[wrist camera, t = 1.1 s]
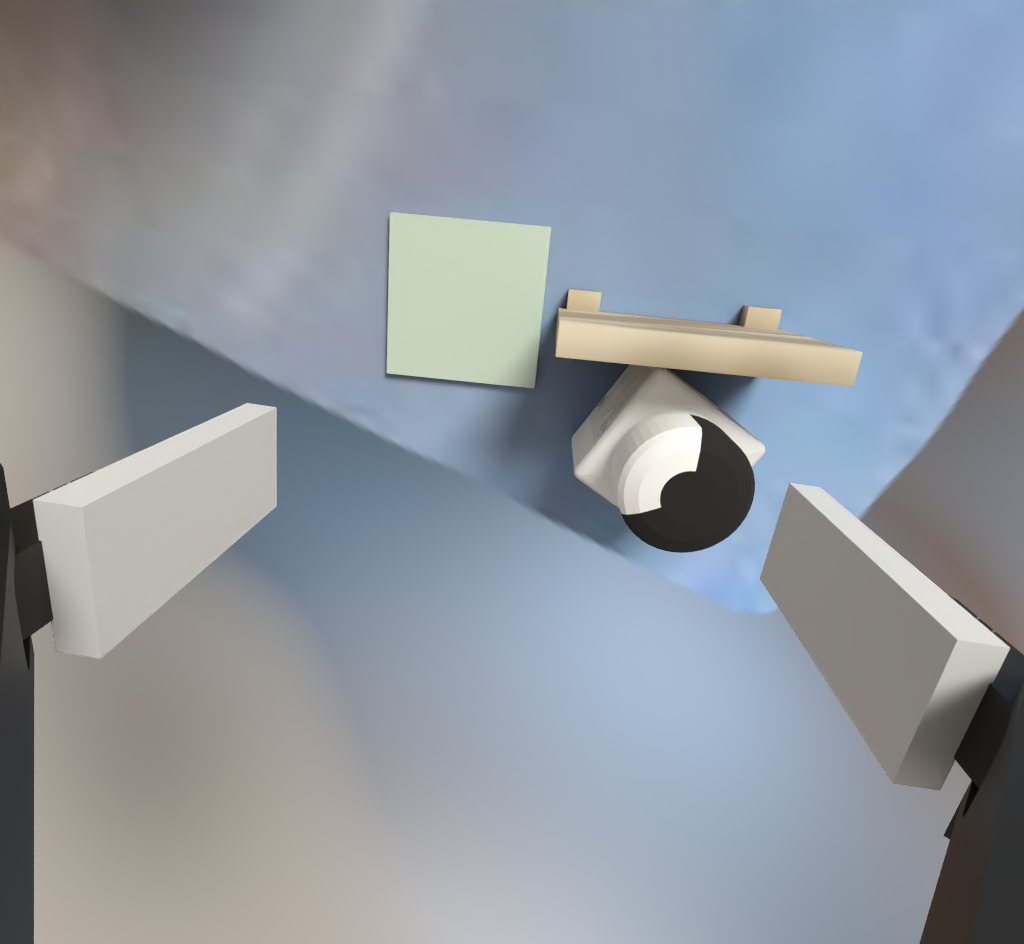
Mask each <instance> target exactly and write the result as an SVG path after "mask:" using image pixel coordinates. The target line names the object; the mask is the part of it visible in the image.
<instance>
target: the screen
mask: <svg viewBox="0 0 1024 944" xmlns="http://www.w3.org/2000/svg"><path fill="white" fill-rule="evenodd" d="M600 300H601V292H596V291H585V290H575V289H569V290H568V299H567V307H566V308H559V309H558V318H557V327H556V357H562V358H572V359H582V360H592V361H602V362H612V363H622V364H632V365H642V366H652V367H662V368H672V369H681V370H691V371H701V372H711V373H721V374H731V375H741V376H751V377H761V378H771V379H781V380H791V381H801V382H811V383H821V384H831V385H841V386H850V387H853V385H854V382H855V378H856V375H857V371H858V368H859V364H860V360H861V357H862V353H863V352H859V351H856V350H852V349H849V348H845V347H841V346H838V345H834V344H831V343H827V342H823V341H820V340H816V339H813V338H809V337H805V336H802V335H798V334H795V333H791V332H787V331H784V330H780V329H778V325H779V321H780V316H781V312H782V310H779V309H772V308H762V307H751V306H743V308H742V313H741V318H740V322H739V325H732V324H722V323H712V322H701V321H691V320H681V319H671V318H660V317H650V316H640V315H630V314H619V313H609V312H599V307H600Z"/></svg>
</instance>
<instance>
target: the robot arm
mask: <svg viewBox="0 0 1024 944" xmlns="http://www.w3.org/2000/svg"><path fill="white" fill-rule="evenodd" d="M276 410H277V409H276V407H269V406H263V405H256V404H249V403H247V404H245V405H242V406H240V407H238V408H236V409H233V410H231V411H229V412H227V413H225V414H222V415H220V416H218V417H215V418H213V419H211V420H209V421H207V422H204V423H202V424H200V425H198V426H196V427H193V428H191V429H189V430H187V431H185V432H182V433H180V434H178V435H176V436H173V437H171V438H169V439H167V440H164V441H162V442H160V443H158V444H155V445H153V446H151V447H149V448H147V449H145V450H142V451H140V452H138V453H136V454H133V455H131V456H129V457H127V458H124V459H122V460H120V461H118V462H116V463H113V464H111V465H109V466H107V467H104V468H102V469H100V470H98V471H95V472H91V473H89V474H87V475H84V476H82V477H80V478H78V479H75V480H73V481H71V482H70V483H69V484H64V485H62V486H60V487H58V488H55V489H54V490H53V491H51V492H47V493H44V494H42V495H40V496H38V497H35V498H33V499H31V500H29V501H26V502H24V503H22V504H20V505H17V506H15V507H13V508H11V509H10V506H9V500H8V494H7V488H6V482H5V476H4V470H3V467H2V465H1V464H0V944H34V651H33V645H32V639H31V635H32V634H33V633H35V632H36V631H38V630H39V629H40V628H42V627H43V626H45V625H46V624H47V623H49V622H50V621H51V624H52V630H53V637H54V644H55V650H56V652H60V653H68V654H73V655H79V656H86V657H92V658H99V659H101V658H102V657H103V656H104V655H106V654H107V653H108V652H109V651H110V650H111V649H112V648H114V647H115V646H116V645H117V644H118V643H119V642H121V640H123V639H124V638H125V637H126V636H127V635H128V634H130V633H131V632H132V631H133V630H134V629H135V628H137V627H138V626H139V625H140V624H141V623H142V622H143V621H145V620H146V619H147V618H148V617H149V616H150V615H152V614H153V613H154V612H155V611H156V610H157V609H158V608H160V607H161V606H162V605H163V604H164V603H165V602H167V601H168V600H169V599H170V598H171V597H172V596H174V595H175V594H176V593H177V592H178V591H179V590H180V589H182V588H183V587H184V586H185V585H186V584H187V583H188V582H189V581H191V580H192V579H193V578H194V577H195V576H197V575H198V574H199V573H200V572H201V571H202V570H203V569H205V568H206V567H207V566H208V565H209V564H210V563H212V562H213V561H214V560H215V559H216V558H217V557H219V556H220V555H221V554H222V553H223V552H224V551H225V550H227V549H228V548H229V547H230V546H231V545H232V544H234V543H235V542H236V541H237V540H238V539H239V538H240V537H242V536H243V535H244V534H245V533H246V532H247V531H248V530H250V529H251V528H252V527H253V526H254V525H255V524H257V523H258V522H259V521H260V520H261V519H262V518H264V516H266V515H267V514H268V513H269V512H270V511H272V510H273V509H274V508H275V507H276V506H277V454H276V453H277V450H276V449H277V445H276V444H277V442H276V441H277V427H276V426H277V423H276V422H277V421H276V419H277V416H276V415H277V414H276ZM760 580H761V581H762V583H763V584H764V586H765V587H766V589H767V591H768V592H769V594H770V595H771V597H772V598H773V600H774V601H775V603H776V604H777V606H778V607H779V609H780V611H781V612H782V614H783V615H784V617H785V618H786V620H787V621H788V623H789V624H790V626H791V628H792V629H793V630H794V632H795V634H796V635H797V637H798V638H799V640H800V641H801V643H802V644H803V646H804V648H805V649H806V651H807V652H808V653H809V655H810V657H811V658H812V660H813V661H814V663H815V664H816V666H817V668H818V669H819V671H820V672H821V674H822V675H823V677H824V678H825V680H826V681H827V683H828V685H829V686H830V688H831V689H832V690H833V692H834V693H835V695H836V697H837V698H838V700H839V701H840V703H841V704H842V706H843V708H844V709H845V711H846V712H847V714H848V715H849V717H850V718H851V720H852V721H853V723H854V725H855V726H856V727H857V729H858V731H859V732H860V734H861V735H862V737H863V738H864V740H865V742H866V743H867V745H868V746H869V748H870V749H871V751H872V752H873V754H874V755H875V757H876V758H877V760H878V762H879V763H880V765H881V766H882V768H883V769H884V771H885V772H886V774H887V775H888V777H889V778H890V780H891V782H892V783H895V784H902V785H908V786H914V787H921V788H927V789H934V790H941V788H942V786H943V784H944V782H945V780H946V778H947V776H948V774H949V772H950V769H951V767H952V766H953V763H954V761H955V760H956V761H957V762H958V764H959V765H960V766H961V767H962V768H963V770H964V771H965V772H966V773H967V775H968V776H969V777H970V778H971V780H972V781H971V783H970V785H969V787H968V789H967V791H966V793H965V794H964V797H963V798H962V800H961V802H960V804H959V806H958V808H957V810H956V812H955V814H954V816H953V818H952V820H951V822H950V824H949V826H948V828H947V830H946V832H945V834H944V836H945V837H947V838H949V839H950V842H949V846H948V848H947V852H946V855H945V859H944V862H943V865H942V869H941V872H940V876H939V879H938V883H937V886H936V889H935V893H934V896H933V899H932V903H931V907H930V910H929V913H928V916H927V920H926V923H925V927H924V931H923V934H922V937H921V940H920V944H1024V655H1023V654H1021V653H1020V652H1019V651H1018V650H1017V649H1016V648H1014V647H1013V646H1012V645H1011V644H1010V643H1008V642H1007V641H1006V640H1005V639H1004V638H1003V637H1001V636H1000V635H999V634H998V633H995V632H992V630H993V629H992V628H991V627H989V626H988V625H987V624H986V623H985V622H983V621H982V620H981V619H977V616H976V615H975V614H974V613H973V612H971V611H970V610H969V609H968V608H967V607H965V606H964V605H963V604H962V603H961V602H959V601H958V600H957V599H955V598H953V597H951V596H950V595H948V594H946V593H945V592H944V591H942V590H941V589H940V588H939V587H938V586H936V585H935V584H934V583H933V582H932V581H930V580H929V579H928V578H927V577H926V576H925V575H923V574H922V573H921V572H920V571H919V570H917V569H916V568H915V567H914V566H913V565H911V564H910V563H909V562H908V561H907V560H906V559H904V558H903V557H902V556H901V555H900V554H899V553H897V552H896V551H895V550H894V549H893V548H891V547H890V546H889V545H888V544H887V543H886V542H884V541H883V540H882V539H881V538H880V537H878V536H877V535H876V534H875V533H874V532H872V531H871V530H870V529H869V528H868V527H867V526H865V525H864V524H863V523H862V522H861V521H859V520H858V519H857V518H856V517H855V516H854V515H852V514H851V513H850V512H849V511H848V510H846V509H845V508H844V507H843V506H842V505H840V504H839V503H838V502H837V501H836V500H835V499H833V498H832V497H831V496H830V495H829V494H827V493H826V492H825V491H824V490H823V489H822V488H820V487H815V486H808V485H801V484H794V483H789V486H788V489H787V492H786V496H785V499H784V502H783V505H782V509H781V512H780V515H779V518H778V522H777V525H776V528H775V531H774V535H773V538H772V541H771V544H770V547H769V551H768V554H767V557H766V560H765V564H764V567H763V570H762V573H761V577H760Z"/></svg>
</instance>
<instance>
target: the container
mask: <svg viewBox="0 0 1024 944" xmlns="http://www.w3.org/2000/svg"><path fill="white" fill-rule="evenodd" d="M571 441H572V453H573V464H574V475H575V476H576V478H578V479H579V480H580V481H582V482H583V483H585V484H586V485H587V486H589V487H590V488H592V489H593V490H594V491H596V492H597V493H599V494H600V495H601V496H603V497H604V498H606V499H607V500H608V501H610V502H611V503H612V504H614V505H615V506H617V507H618V508H619V509H620V511H621V514H622V516H623V519H624V521H625V522H626V524H627V525H628V527H629V528H630V530H631V531H632V532H633V533H634V534H635V535H636V536H637V537H639V538H640V539H641V540H642V541H644V542H646V543H647V544H649V545H651V546H653V547H655V548H658V549H661V550H665V551H670V552H694V551H699V550H703V549H706V548H709V547H711V546H713V545H715V544H717V543H719V542H721V541H723V540H724V539H726V538H727V537H728V536H730V535H731V534H732V533H733V532H734V531H735V530H736V529H737V528H738V527H739V526H740V525H741V523H742V522H743V520H744V519H745V518H746V516H747V514H748V512H749V510H750V507H751V504H752V501H753V497H754V491H755V481H754V474H753V470H752V467H753V465H754V464H755V463H756V462H757V461H758V460H759V459H760V458H761V457H762V456H763V455H764V453H765V447H764V445H763V444H762V443H761V442H760V441H758V440H757V439H756V438H755V437H754V436H753V435H751V434H750V433H749V432H748V431H747V430H746V429H744V428H743V427H742V426H741V425H740V424H739V423H738V422H736V421H735V420H734V419H733V418H732V417H731V416H729V415H728V414H727V413H726V412H724V411H723V410H722V409H720V408H719V407H718V406H716V405H715V404H714V403H713V402H711V401H710V400H709V399H707V398H706V397H705V396H703V395H702V394H701V393H700V392H698V391H697V390H696V389H694V388H693V387H692V386H690V385H689V384H688V383H687V382H685V381H684V380H683V379H681V378H680V377H679V376H677V375H676V374H675V373H674V372H672V371H671V370H670V369H668V368H662V367H652V366H642V365H632V364H630V365H629V366H628V367H627V368H626V370H625V371H624V372H623V373H622V375H621V376H620V377H619V378H618V380H617V381H616V382H615V383H614V385H613V386H612V387H611V389H610V390H609V391H608V392H607V394H606V395H605V396H604V397H603V399H602V400H601V401H600V402H599V404H598V405H597V406H596V407H595V409H594V410H593V411H592V412H591V414H590V415H589V416H588V417H587V419H586V420H585V421H584V422H583V424H582V425H581V426H580V427H579V429H578V430H577V431H576V432H575V434H574V435H573V436H572V439H571Z"/></svg>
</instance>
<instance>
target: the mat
mask: <svg viewBox="0 0 1024 944" xmlns="http://www.w3.org/2000/svg"><path fill="white" fill-rule="evenodd" d="M550 235H551V227H544V226H533V225H523V224H512V223H501V222H490V221H479V220H469V219H458V218H447V217H436V216H425V215H415V214H404V213H393V212H390V232H389V282H388V331H387V373H389V374H398V375H408V376H418V377H428V378H437V379H447V380H457V381H467V382H476V383H486V384H496V385H505V386H515V387H525V388H535V380H536V371H537V361H538V351H539V342H540V332H541V322H542V312H543V303H544V293H545V283H546V274H547V264H548V254H549V245H550Z"/></svg>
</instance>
